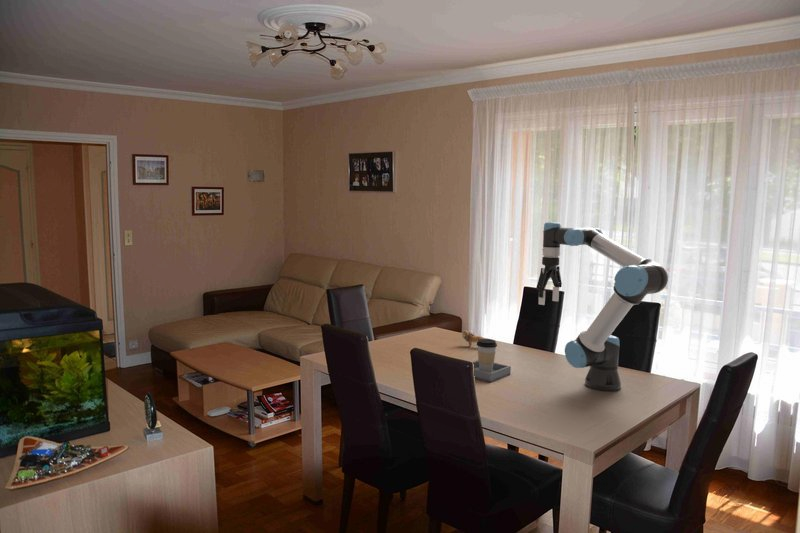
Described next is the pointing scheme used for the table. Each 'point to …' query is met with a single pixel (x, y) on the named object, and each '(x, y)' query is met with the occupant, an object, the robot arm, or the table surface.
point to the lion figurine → (470, 338)
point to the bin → (497, 372)
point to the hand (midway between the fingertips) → (548, 302)
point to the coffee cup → (486, 354)
